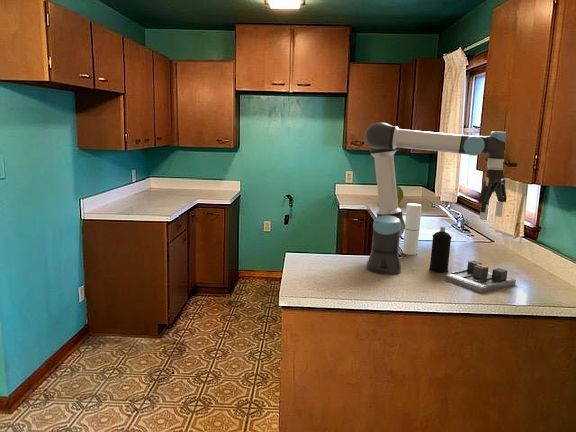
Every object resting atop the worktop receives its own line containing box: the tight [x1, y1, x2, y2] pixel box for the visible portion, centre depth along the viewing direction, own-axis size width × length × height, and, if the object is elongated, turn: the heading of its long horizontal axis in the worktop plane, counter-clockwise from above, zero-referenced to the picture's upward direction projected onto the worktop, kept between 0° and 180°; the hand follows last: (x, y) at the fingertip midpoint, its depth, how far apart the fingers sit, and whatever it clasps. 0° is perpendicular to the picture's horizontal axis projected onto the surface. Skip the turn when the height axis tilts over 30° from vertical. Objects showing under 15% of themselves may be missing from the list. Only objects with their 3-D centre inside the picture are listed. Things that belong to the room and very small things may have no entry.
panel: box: [444, 260, 517, 294], centre depth 195 cm, size 22×18×6 cm
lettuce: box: [396, 184, 404, 205], centre depth 374 cm, size 17×23×16 cm
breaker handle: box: [473, 264, 489, 279], centre depth 195 cm, size 4×4×5 cm
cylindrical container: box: [402, 202, 422, 256], centre depth 236 cm, size 7×7×25 cm
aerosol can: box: [428, 226, 452, 274], centre depth 208 cm, size 8×8×20 cm
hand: (490, 218), depth 202 cm, fingers open, 13 cm apart
